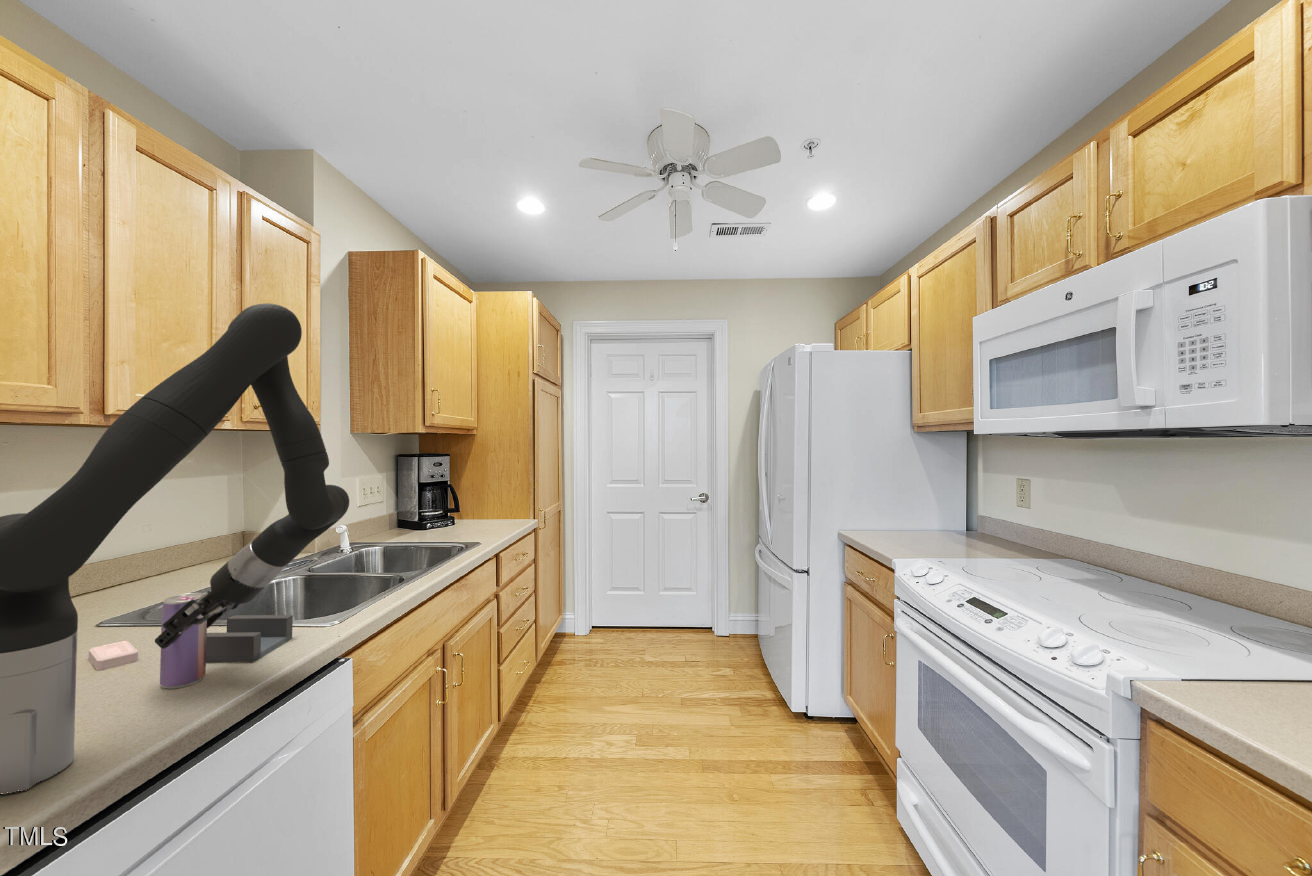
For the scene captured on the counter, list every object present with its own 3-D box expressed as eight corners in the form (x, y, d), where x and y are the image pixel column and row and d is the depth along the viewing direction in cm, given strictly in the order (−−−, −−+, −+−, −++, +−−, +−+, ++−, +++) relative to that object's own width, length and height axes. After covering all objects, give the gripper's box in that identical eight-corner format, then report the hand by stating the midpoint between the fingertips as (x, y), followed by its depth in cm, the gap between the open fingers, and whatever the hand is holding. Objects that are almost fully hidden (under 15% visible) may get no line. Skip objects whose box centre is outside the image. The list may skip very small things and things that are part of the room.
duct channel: (292, 637, 111) (292, 614, 111) (253, 661, 99) (254, 636, 99) (233, 638, 110) (233, 615, 110) (187, 662, 98) (187, 636, 98)
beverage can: (177, 691, 87) (180, 603, 87) (150, 687, 88) (152, 600, 89) (214, 676, 93) (216, 593, 93) (188, 672, 94) (190, 591, 94)
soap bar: (127, 651, 104) (127, 639, 104) (138, 662, 99) (138, 650, 99) (87, 660, 99) (88, 647, 99) (97, 672, 94) (97, 659, 94)
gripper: (263, 547, 99) (198, 606, 98) (203, 565, 84) (127, 635, 83) (291, 574, 99) (227, 634, 98) (237, 597, 85) (161, 667, 84)
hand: (181, 634), depth 91 cm, fingers open, 8 cm apart
